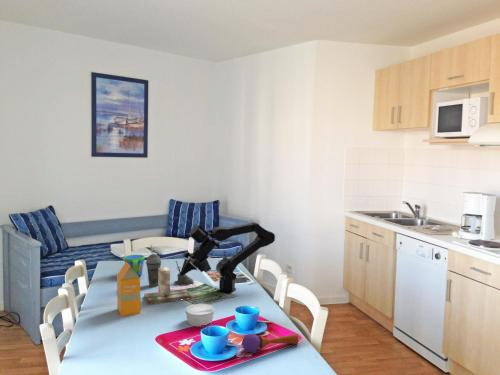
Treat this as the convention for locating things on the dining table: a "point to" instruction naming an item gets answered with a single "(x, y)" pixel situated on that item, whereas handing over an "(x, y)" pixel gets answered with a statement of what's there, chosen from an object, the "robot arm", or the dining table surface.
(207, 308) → the ramekin
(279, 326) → the dining table surface
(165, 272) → the slider block
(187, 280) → the sword in stone
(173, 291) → the gauge board
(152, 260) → the beverage cup
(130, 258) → the snack cup
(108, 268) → the dining table surface
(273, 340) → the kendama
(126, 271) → the orange juice
